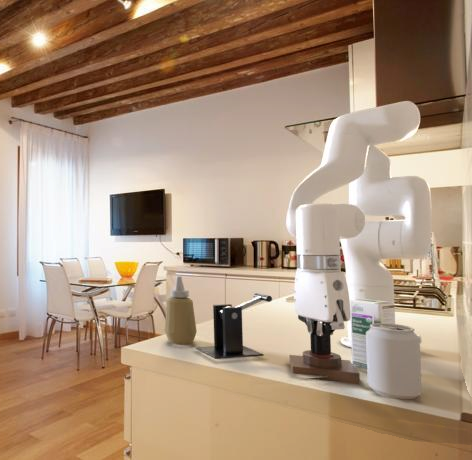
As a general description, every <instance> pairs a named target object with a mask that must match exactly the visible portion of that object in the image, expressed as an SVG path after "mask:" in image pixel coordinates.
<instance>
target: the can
mask: <svg viewBox="0 0 472 460" xmlns="http://www.w3.org/2000/svg"><path fill="white" fill-rule="evenodd" d="M370 327H371V328H370V329H369V330H368V331H367V332H366V351H367V368H366V375H367V386H368V387H369V388H371V390H373V391H374V393H376V394H378V395H381V396H383V397H388V398H393V399H398V400H413V399H414V400H415V399H416V398H417V397H419V396H420V395H422V394H423V387H422V384H423V383H422V362H421V361H422V359H421V343H420V338H419V337H418V336H417V335H418V334H417V333H415V332H414V331H415V330H416V329H415V328H414V327H412V326H408V325H405V324H397V323H395V324H388V323H374V324H370Z"/></svg>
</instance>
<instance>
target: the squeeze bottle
mask: <svg viewBox="0 0 472 460" xmlns="http://www.w3.org/2000/svg"><path fill="white" fill-rule="evenodd" d="M169 291H170V292H169V293H170V294H169V295H170V297H169V298H168V299H166V307H165V308H166V310H165V322H164V332H165V335H166V338H167V340H168V343H171V344H174V345H191V344H193V343H194V342H195V338H196V335H197V325H196V317H195V309H194V302H193V301H194V300H193V299H192V298H190V291H189V290H188V289H185V286H184V281H183V277H182V276H176V279H175V283H174V289H170V290H169Z"/></svg>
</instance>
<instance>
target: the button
mask: <svg viewBox="0 0 472 460" xmlns="http://www.w3.org/2000/svg"><path fill="white" fill-rule="evenodd" d="M311 355H313V356H318V357H326V358H327V357H332V354H330V355H316V354H313V353H311Z"/></svg>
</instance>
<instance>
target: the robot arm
mask: <svg viewBox="0 0 472 460" xmlns="http://www.w3.org/2000/svg"><path fill="white" fill-rule="evenodd" d="M420 124H421V113H420V110H419V107H418V106H417V105H416V104H415V103H414V102H412V101H410V100H404V101H399V102H394V103H390V104H385V105H379V106H376V107H375V106H374V107H370V108H365V109H361V110H357V111H351V112H349V113H344V114H342V115H340V116H338V117H336V118H335V119H334V120H333V121H332V122H331V124H330V125H329V129H328V131H327V136H326V140H325V145H324V149H323V154H322V157H321V163H320V165H319V166H318V167H317V168H316V169H314V170H313V171H312V172H311V173H310V174H309V175H307V176H306V177H305V178H304V179H303V180H302V181H301V182H300V183H299V184H298V185H297V186H296V187H295V188H294V191H293V192H292V194H291V197H290V201H289V204H288V207H287V208H288V209H287V212H286V219H285V224H286V230H287V232H288V234H289V235H290V236H291V237H293V238H295V241H296V245H295V246H296V272H295V277H294V285H293V287H294V288H293V306H294V307H293V308H294V312H295V314H297V319H298V320H299V321H301V322H303V323H304V324H305V325H306V329H307V333H308V334H310V350H311V353H313V354H316V355H330V354H331V352H332V342H331V336H333V335H334V332H335V331H336V330H344V329H345V328H346V326H345V322H347V336H342V337H341V338H340V343H341V344H342V345H343V346H345V347H348V348H351V349H352V343H351V312H350V301H351V300H354V299H368V300H377V301H386V302H394V303H395V286H394V285H395V283H394V277H393V274H392V273H391V272H390V271H391V270H389V269H388V267H386V265H384V263H382V262H381V260H421V259H424V258H426V257H427V256H428V255H430V252H431V248H432V195H431V194H432V193H431V188H430V185H429V183H428V182H427V180H426V179H425V178H423V177H421V176H418V175H403V176H393V177H392V175H391V173H392V170H391V167H392V166H391V165H392V161H391V159H390V157H389V155H388V154H386V153H385V152H384V151H383V150H381V149H380V148H378V147H377V145H383V144H384V145H385V144H391V143H396V142H400V141H404V140H406V139H408V138H410V137H412V136H413V135H414V134H415V133H416V132H417V131H418V129H419V127H420ZM346 185H348V203H324V202H323V203H322V202H321V203H314V202H316V200H318V199H319V198H321V197H322V196H324V195H326V194H328V193H330V192H333V191H335V190H337V189H339V188H342V187H344V186H346ZM388 216H389V217H391V216H392V217H393V216H396V217H397V216H402V217H404V219H388V220H385V219H380V220H366V217H370V218H371V217H388ZM341 249H342V255H343V260H344V266H345V267H344V268H345V272H344V271H341V268H342V267H341V266H342V265H343V261H342V260H341ZM416 335H417V336H418V337H419V338H420V344H422V336H421V334H416Z"/></svg>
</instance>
